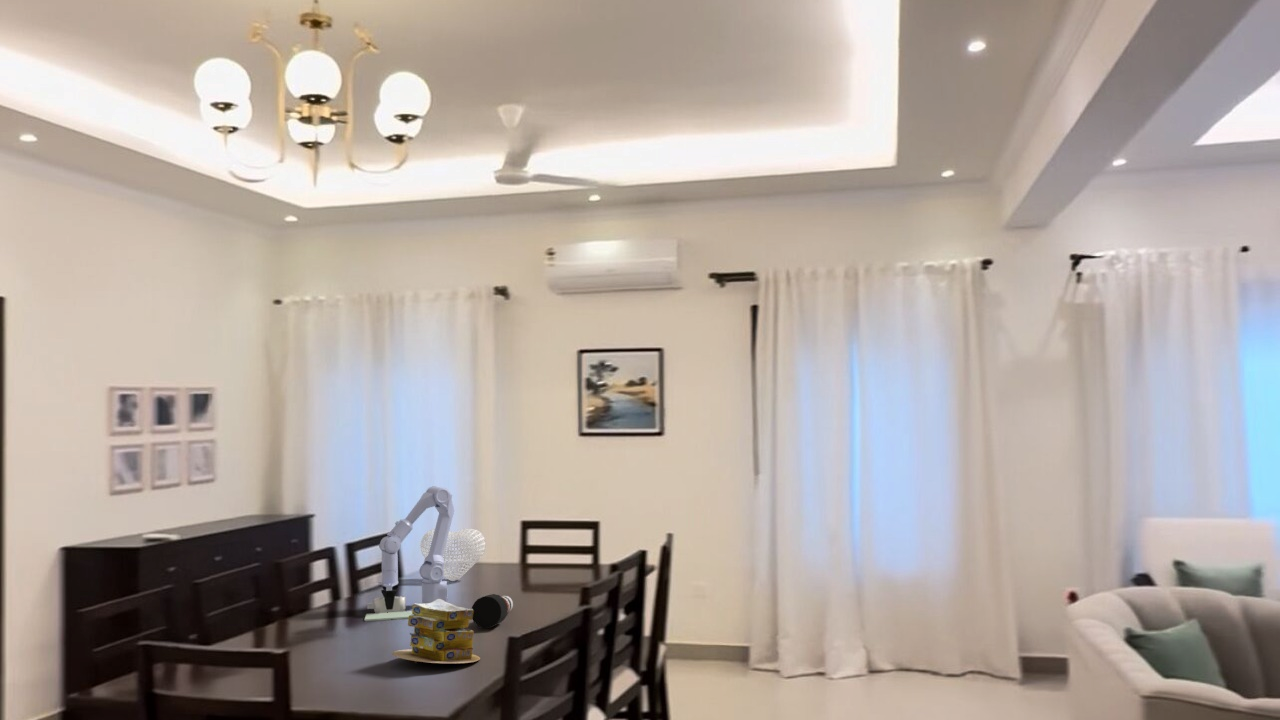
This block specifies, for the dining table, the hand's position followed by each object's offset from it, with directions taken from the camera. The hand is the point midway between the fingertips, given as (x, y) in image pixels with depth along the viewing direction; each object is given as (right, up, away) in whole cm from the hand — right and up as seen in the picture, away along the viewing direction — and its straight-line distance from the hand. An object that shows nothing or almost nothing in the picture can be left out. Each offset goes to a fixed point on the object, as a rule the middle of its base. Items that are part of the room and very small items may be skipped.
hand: (389, 607), depth 353 cm
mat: (+2, -1, -10) cm, 10 cm away
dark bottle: (+42, 0, -18) cm, 45 cm away
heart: (+11, -5, +63) cm, 64 cm away
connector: (-1, -2, 0) cm, 2 cm away
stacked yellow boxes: (+33, +3, -74) cm, 81 cm away
